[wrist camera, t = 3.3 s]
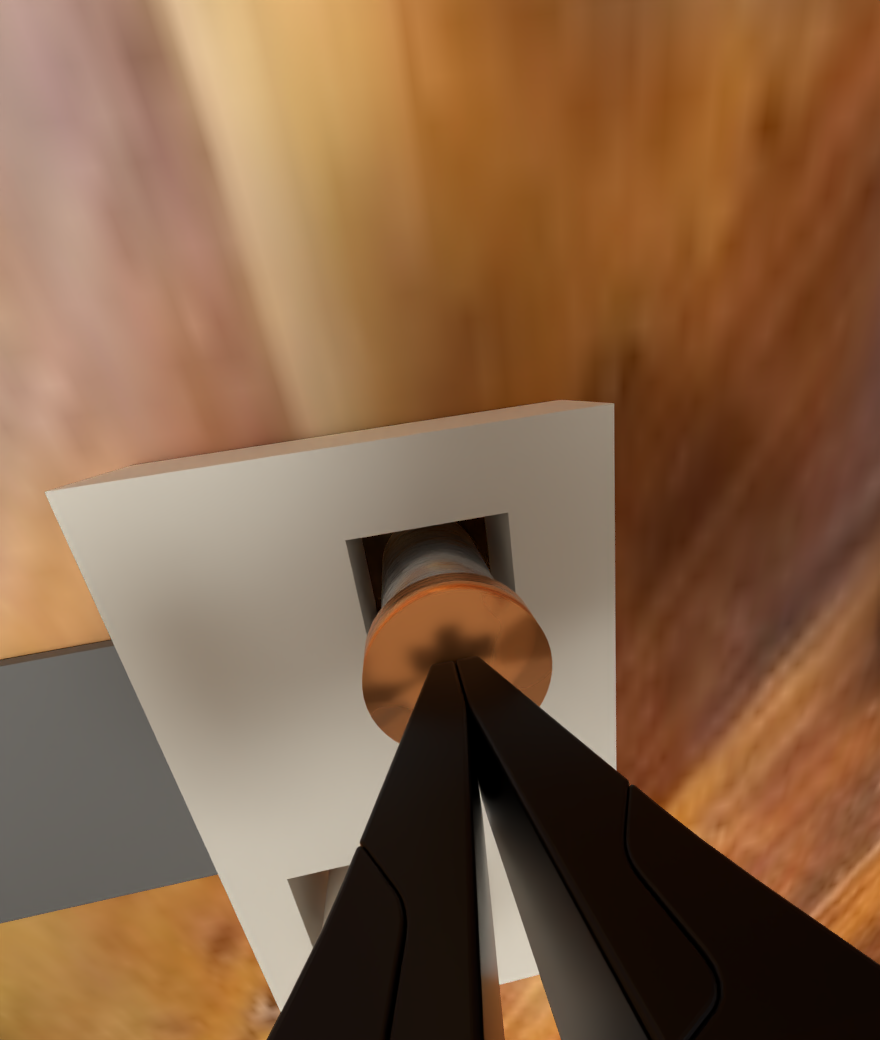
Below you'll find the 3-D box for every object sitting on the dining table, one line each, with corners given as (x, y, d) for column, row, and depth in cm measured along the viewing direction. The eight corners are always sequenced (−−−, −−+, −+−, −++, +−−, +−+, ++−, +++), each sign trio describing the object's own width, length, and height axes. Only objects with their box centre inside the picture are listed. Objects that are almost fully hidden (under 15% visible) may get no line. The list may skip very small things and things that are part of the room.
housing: (581, 866, 18) (617, 954, 16) (307, 932, 18) (292, 1037, 15) (560, 399, 12) (614, 403, 9) (131, 465, 11) (44, 492, 8)
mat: (236, 859, 16) (232, 870, 15) (-46, 922, 15) (-56, 935, 15) (140, 634, 13) (133, 642, 12) (-222, 700, 12) (-241, 710, 12)
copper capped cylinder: (491, 601, 13) (556, 734, 8) (383, 621, 13) (381, 771, 8) (479, 497, 12) (547, 576, 7) (361, 517, 12) (343, 613, 7)
